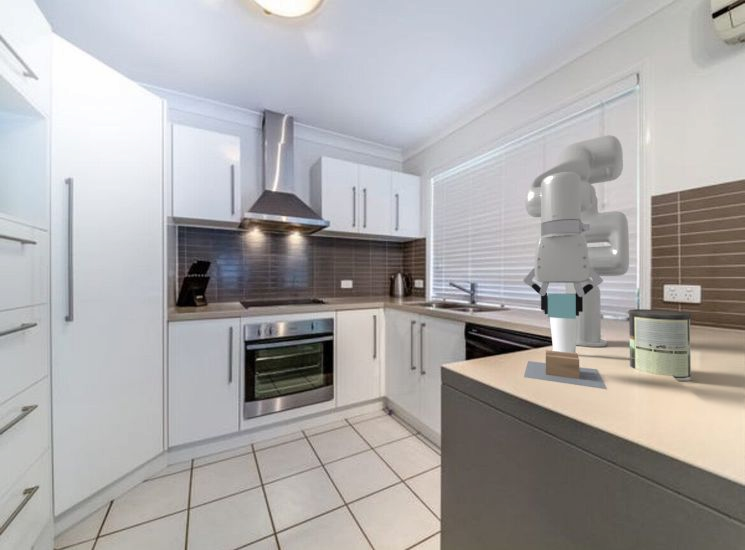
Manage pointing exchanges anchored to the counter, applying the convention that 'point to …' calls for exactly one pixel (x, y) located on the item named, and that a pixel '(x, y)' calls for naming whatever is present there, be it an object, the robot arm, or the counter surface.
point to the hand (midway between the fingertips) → (561, 313)
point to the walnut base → (562, 364)
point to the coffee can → (660, 342)
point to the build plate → (585, 374)
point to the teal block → (561, 305)
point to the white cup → (564, 334)
